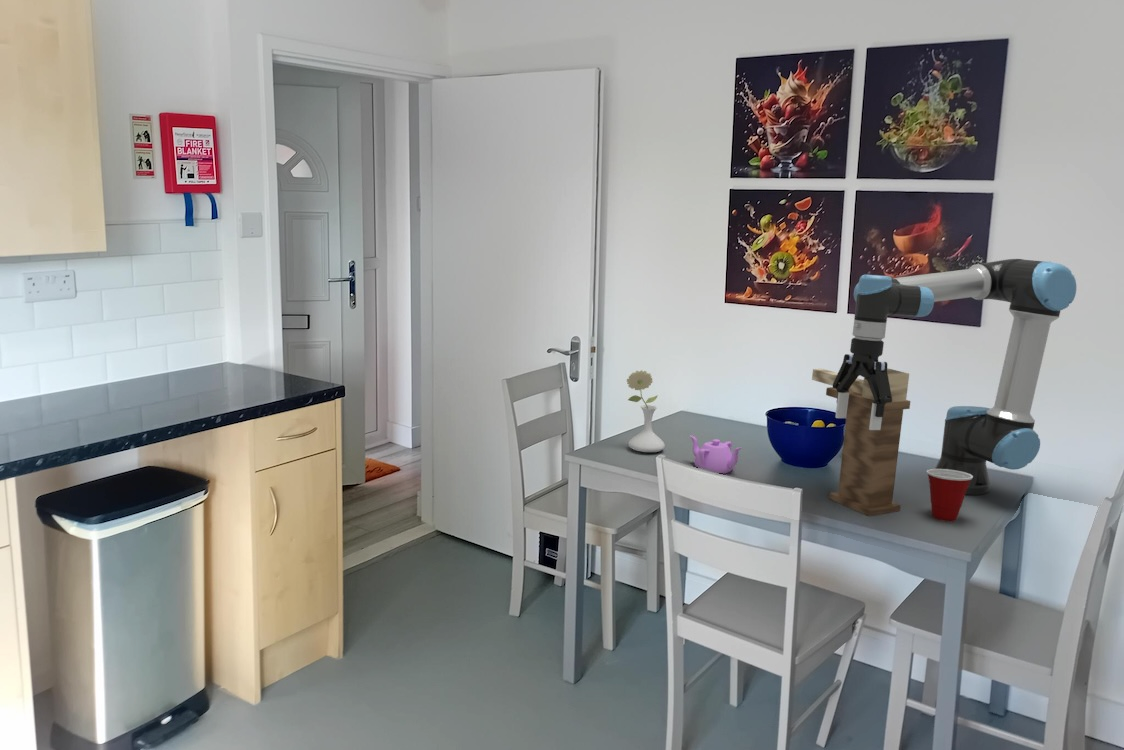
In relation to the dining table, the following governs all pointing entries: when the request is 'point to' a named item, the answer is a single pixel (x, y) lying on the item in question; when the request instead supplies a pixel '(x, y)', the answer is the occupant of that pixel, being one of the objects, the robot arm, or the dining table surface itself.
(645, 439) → the flower in vase
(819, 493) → the dining table surface
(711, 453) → the teapot
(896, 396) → the meat mallet
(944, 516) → the plastic cup
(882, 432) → the walnut stand
